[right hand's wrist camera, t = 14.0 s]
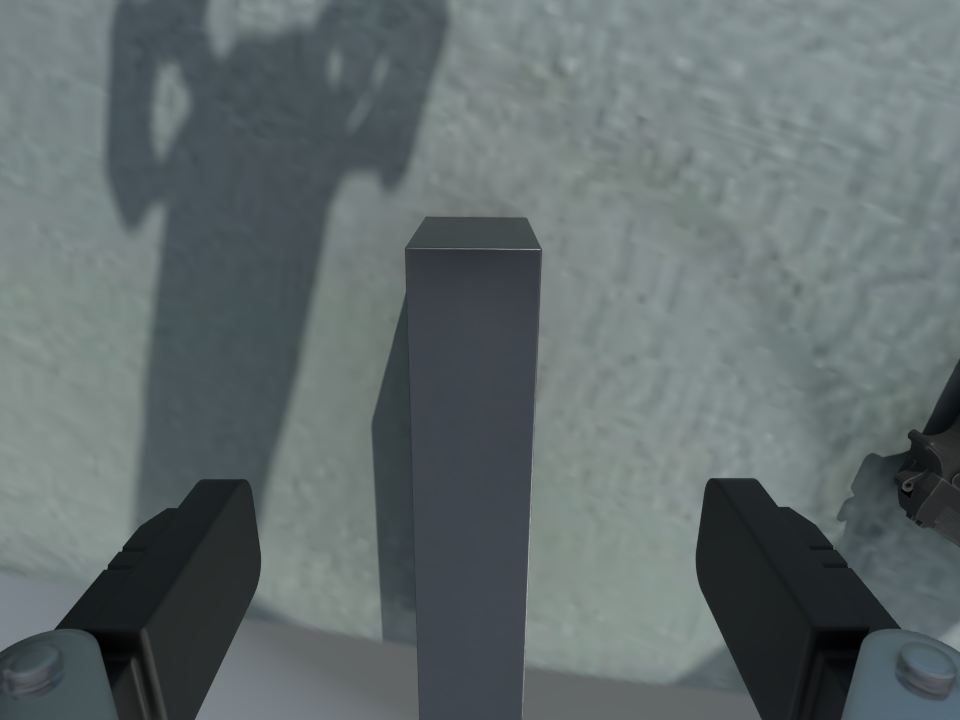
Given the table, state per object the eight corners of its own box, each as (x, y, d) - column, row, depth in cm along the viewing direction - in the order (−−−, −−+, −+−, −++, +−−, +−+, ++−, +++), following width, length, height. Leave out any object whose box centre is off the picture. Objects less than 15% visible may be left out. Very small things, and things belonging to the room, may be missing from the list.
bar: (425, 216, 30) (404, 247, 22) (527, 217, 30) (542, 248, 22) (433, 623, 38) (420, 749, 31) (513, 624, 38) (521, 750, 30)
